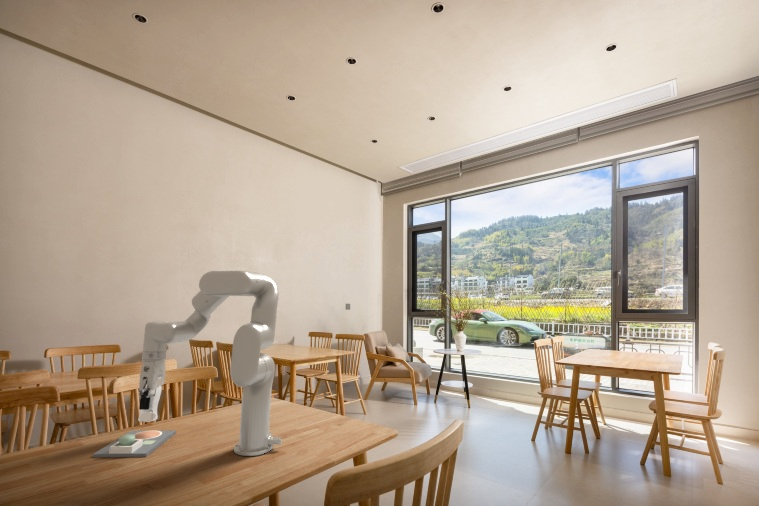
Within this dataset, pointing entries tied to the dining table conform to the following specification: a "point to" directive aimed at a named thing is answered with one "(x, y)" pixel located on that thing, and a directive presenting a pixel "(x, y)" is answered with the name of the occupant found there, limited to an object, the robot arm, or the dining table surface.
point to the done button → (126, 439)
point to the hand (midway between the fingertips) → (149, 406)
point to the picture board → (136, 444)
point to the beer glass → (152, 403)
